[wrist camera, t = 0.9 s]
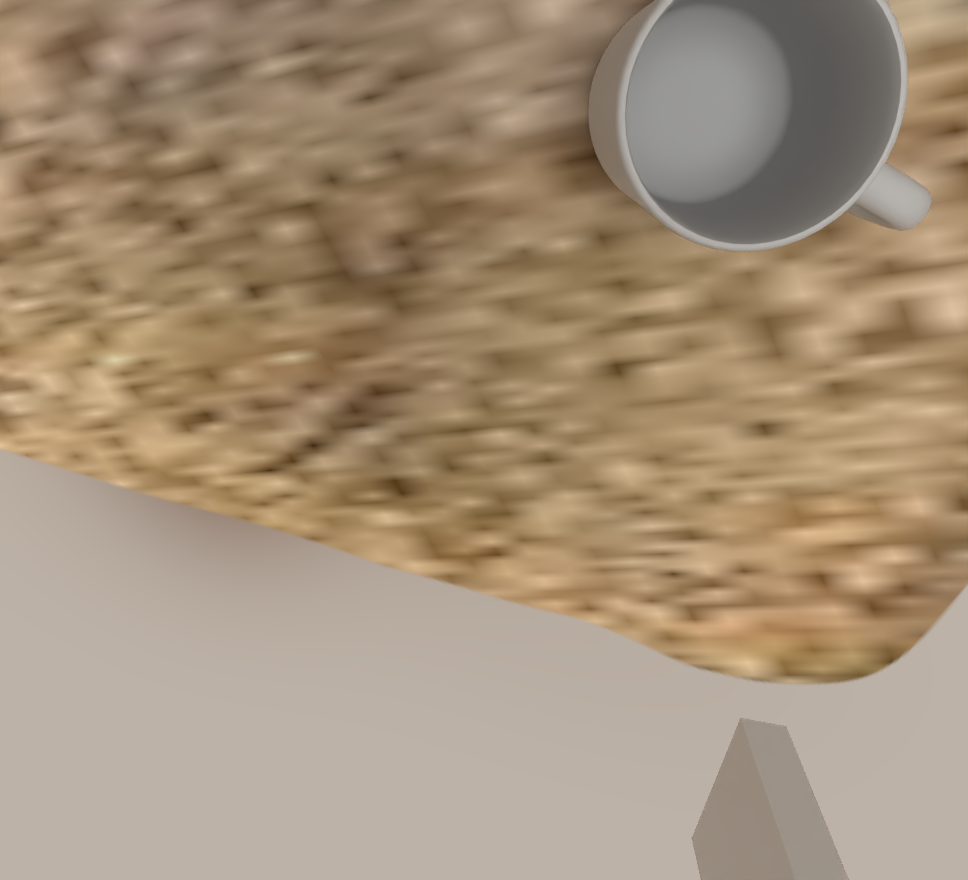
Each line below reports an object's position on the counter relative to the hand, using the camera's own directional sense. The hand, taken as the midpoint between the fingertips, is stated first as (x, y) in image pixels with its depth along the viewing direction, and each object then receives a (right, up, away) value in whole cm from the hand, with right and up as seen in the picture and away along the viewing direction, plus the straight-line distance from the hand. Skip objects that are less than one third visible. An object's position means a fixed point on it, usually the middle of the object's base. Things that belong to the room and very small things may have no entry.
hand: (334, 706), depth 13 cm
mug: (+13, +18, +21) cm, 30 cm away
